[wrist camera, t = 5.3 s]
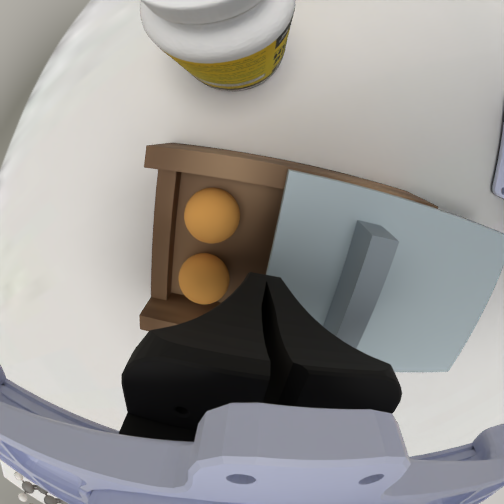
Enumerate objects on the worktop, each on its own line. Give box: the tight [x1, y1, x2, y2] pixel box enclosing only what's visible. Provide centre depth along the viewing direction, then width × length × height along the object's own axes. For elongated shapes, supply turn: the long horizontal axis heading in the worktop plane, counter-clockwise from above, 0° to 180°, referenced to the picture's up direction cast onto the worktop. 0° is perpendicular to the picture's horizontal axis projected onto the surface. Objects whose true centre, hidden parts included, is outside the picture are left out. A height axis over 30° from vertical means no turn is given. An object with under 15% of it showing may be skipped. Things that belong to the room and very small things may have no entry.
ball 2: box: [179, 253, 230, 304], centre depth 16 cm, size 3×3×3 cm
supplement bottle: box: [140, 0, 295, 91], centre depth 9 cm, size 5×5×10 cm
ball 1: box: [184, 187, 240, 244], centre depth 15 cm, size 3×3×3 cm
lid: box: [266, 169, 504, 372], centre depth 13 cm, size 14×10×3 cm
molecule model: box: [14, 472, 68, 504], centre depth 36 cm, size 20×16×16 cm
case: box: [140, 143, 438, 331], centre depth 16 cm, size 14×10×4 cm
